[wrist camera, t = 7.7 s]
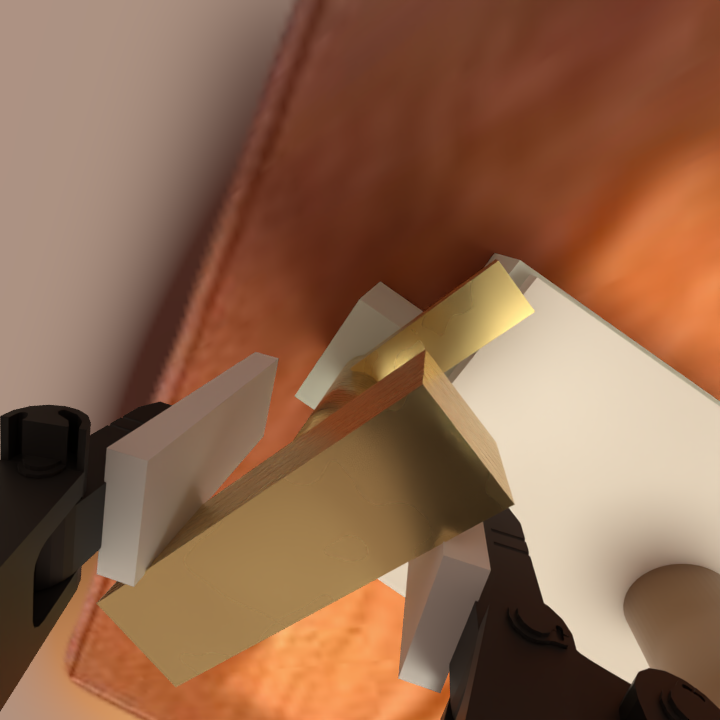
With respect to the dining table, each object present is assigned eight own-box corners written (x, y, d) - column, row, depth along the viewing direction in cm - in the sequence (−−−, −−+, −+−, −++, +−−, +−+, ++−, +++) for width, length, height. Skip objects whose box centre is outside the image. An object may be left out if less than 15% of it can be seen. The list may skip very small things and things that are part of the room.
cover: (530, 274, 16) (629, 314, 8) (900, 536, 16) (1360, 832, 8) (330, 525, 20) (260, 721, 12) (629, 729, 21) (758, 1053, 12)
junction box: (430, 207, 23) (428, 195, 16) (778, 453, 23) (918, 541, 16) (291, 412, 27) (244, 471, 20) (587, 616, 27) (636, 738, 21)
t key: (274, 409, 19) (96, 603, 9) (487, 252, 16) (576, 281, 6) (310, 452, 19) (175, 687, 9) (525, 306, 16) (672, 420, 6)
